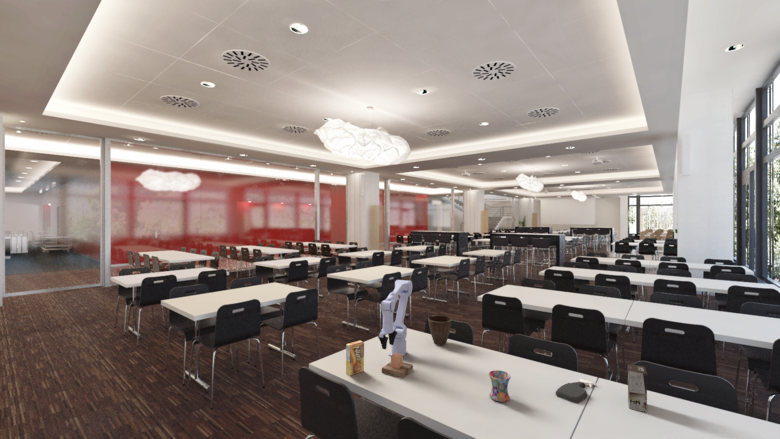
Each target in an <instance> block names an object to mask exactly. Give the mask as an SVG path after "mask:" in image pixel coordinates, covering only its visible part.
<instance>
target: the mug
mask: <svg viewBox="0 0 780 439" xmlns="http://www.w3.org/2000/svg"><path fill="white" fill-rule="evenodd" d="M488 376H489V379H490V381H491V390H490V392H489V397H490V398H491V399H492V400H493V401H496V402H500V403H504V402H509V400H510V395H509V392H508V385H509V382H510V380H511V378H512V377H511V374H510V373H509V372H507V371H504V370H501V369H500V370H498V369H495V370H491V371H489V372H488Z"/></svg>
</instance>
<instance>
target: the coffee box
mask: <svg viewBox="0 0 780 439" xmlns="http://www.w3.org/2000/svg"><path fill="white" fill-rule="evenodd" d="M627 404H628V409H630V410H633V409H634V410H633V411H638V410H639V411H638V412H641V411H645V412H646V413H648V412H647V411H648V409H647V407H648V372H647V369H646V367H645V366H642V365H638V364H630V363H627ZM645 412H644V413H645Z"/></svg>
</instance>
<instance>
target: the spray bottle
mask: <svg viewBox="0 0 780 439" xmlns="http://www.w3.org/2000/svg"><path fill="white" fill-rule="evenodd" d="M587 386H589V387H590V388H591V389H592V387H597V386H598V384H597V383H594V382H593V381H590V380H586V379H582V378H579V381H575V382H574V381H573V382H567V383H565V384H563V385H561V386H559V387H558V388H557V389H556V390H555V395H556V397H557V398H560V399H562V400H565V401H568V402H570V403H572V404H573V403H574V404H578V403H579V404H580V403H581V402H582V401H584V400H585V399H587V398H588V392H587V391H586V389H585V388H586V387H587Z"/></svg>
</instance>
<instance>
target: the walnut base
mask: <svg viewBox="0 0 780 439" xmlns="http://www.w3.org/2000/svg"><path fill="white" fill-rule="evenodd" d="M412 370H414V364H412V363H407V362H404V361H403V366H401V367H400V368H399V369H397V368H393V367H391V361H390V362H389V363H387V364H385V365H384V366H382V367H381V373H382V374H385V375H389V376H393V377H396V378H400V379H402V378H404V377H405V376H406V375H408V374H409V373H410V372H411V371H412Z"/></svg>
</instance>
